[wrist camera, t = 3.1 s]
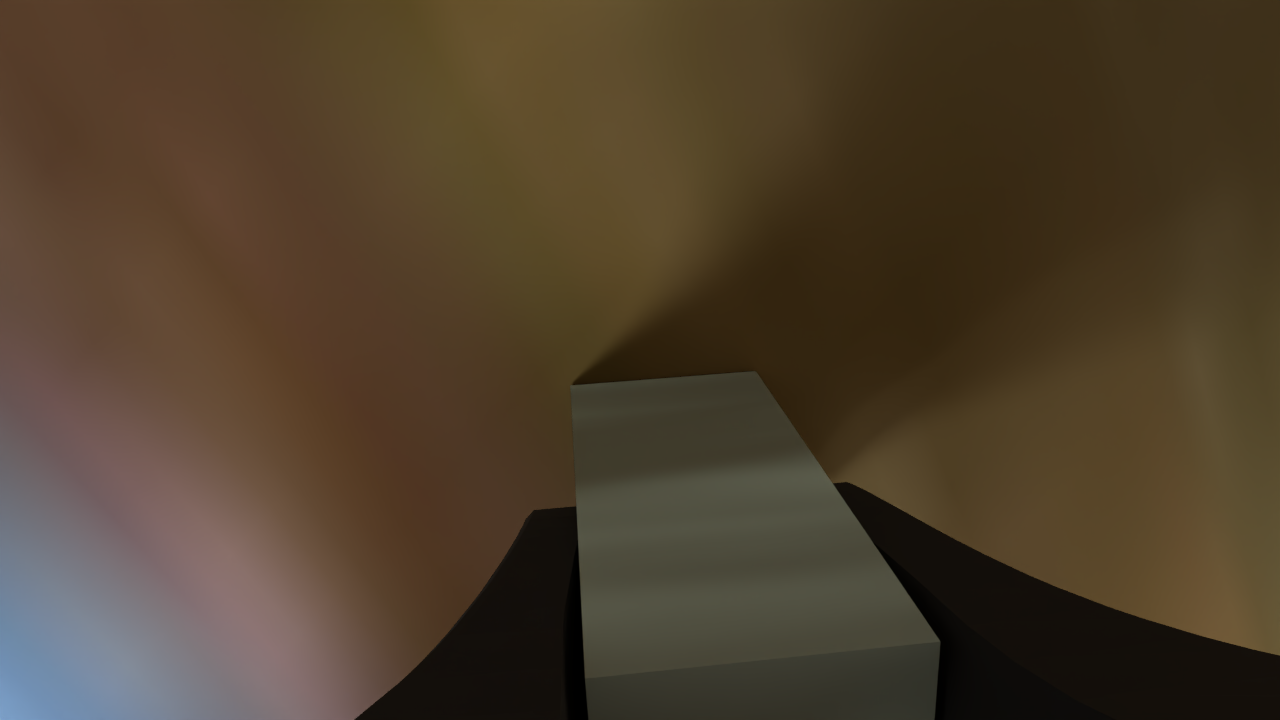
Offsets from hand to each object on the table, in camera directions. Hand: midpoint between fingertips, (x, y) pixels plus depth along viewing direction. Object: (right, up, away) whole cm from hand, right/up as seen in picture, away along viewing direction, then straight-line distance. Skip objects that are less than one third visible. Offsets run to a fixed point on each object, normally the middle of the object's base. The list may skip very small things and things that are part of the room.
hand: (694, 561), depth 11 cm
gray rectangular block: (0, -8, +6) cm, 10 cm away
